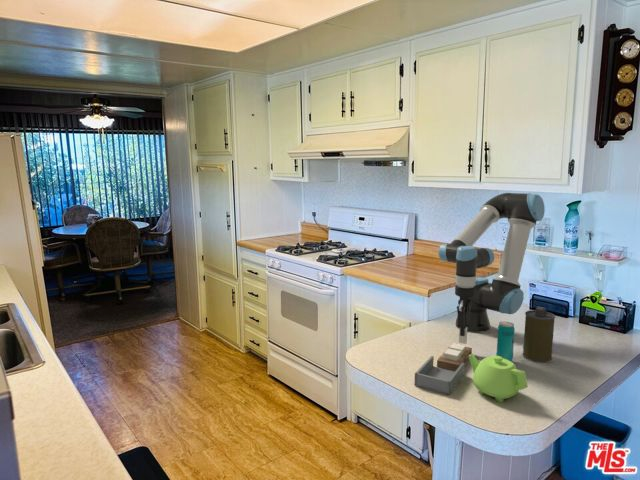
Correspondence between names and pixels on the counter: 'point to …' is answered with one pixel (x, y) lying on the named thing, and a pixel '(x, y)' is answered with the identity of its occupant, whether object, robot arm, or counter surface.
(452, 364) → the walnut board
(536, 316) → the canister
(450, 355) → the tile
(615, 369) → the counter surface
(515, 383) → the teapot
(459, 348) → the tile
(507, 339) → the beverage can
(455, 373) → the tray
